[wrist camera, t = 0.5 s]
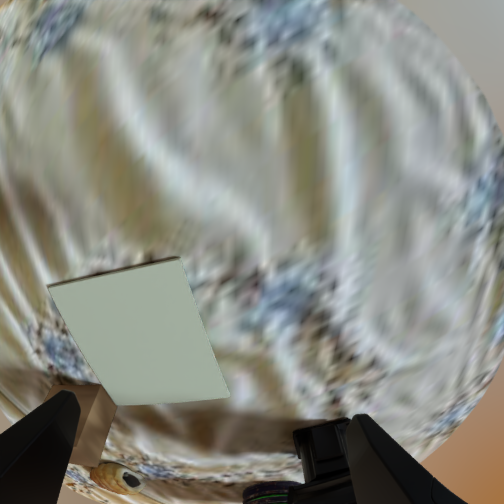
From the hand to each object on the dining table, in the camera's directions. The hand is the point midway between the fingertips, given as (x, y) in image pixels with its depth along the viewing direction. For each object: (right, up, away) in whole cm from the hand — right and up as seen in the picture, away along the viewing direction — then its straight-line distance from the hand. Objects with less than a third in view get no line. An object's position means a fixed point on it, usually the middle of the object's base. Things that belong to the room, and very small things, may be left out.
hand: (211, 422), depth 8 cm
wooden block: (-17, -10, +19) cm, 27 cm away
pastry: (-19, -28, +26) cm, 42 cm away
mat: (-8, -3, +16) cm, 18 cm away
